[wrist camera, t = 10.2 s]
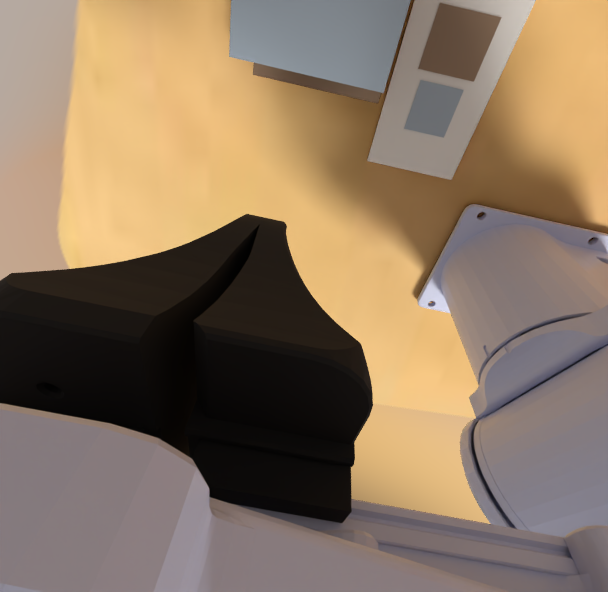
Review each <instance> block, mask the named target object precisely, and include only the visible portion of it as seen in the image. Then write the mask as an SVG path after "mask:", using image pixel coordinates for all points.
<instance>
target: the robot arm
mask: <svg viewBox="0 0 608 592" xmlns="http://www.w3.org/2000/svg"><path fill="white" fill-rule="evenodd" d="M481 212H484V215H483V216H482V217H477V215H478V214H479V213H481ZM286 228H287V226H286V224H285V223H284V222H282V221H277V220H273V219H268V218H263V217H259V216H254V215H249V214H246V215H244V216H242V217H240V218H238V219H236V220H234V221H233V222H231V223H229V224H227V225H225V226H223V227H222V228H220V229H218V230H216V231H214V232H212V233H210V234H207V235H205V236H203V237H201V238H199V239H196V240H194V241H192V242H190V243H187V244H185V245H182V246H179V247H176V248H173V249H170V250H167V251H164V252H161V253H157V254H153V255H149V256H145V257H140V258H136V259H132V260H127V261H123V262H117V263H111V264H105V265H99V266H91V267H84V268H75V269H67V270H52V271H39V272H26V273H11V274H9V275H8V276H7V277H5V278H4V279H2V280H1V281H0V592H608V234H606V233H602V232H597V231H593V230H588V229H584V228H580V227H575V226H571V225H566V224H562V223H557V222H553V221H548V220H544V219H540V218H535V217H531V216H526V215H522V214H517V213H513V212H508V211H504V210H500V209H495V208H491V207H486V206H482V205H477V204H471V205H469V206H467V207H466V208H465V209H464V211H463V213H462V215H461V217H460V219H459V221H458V222H457V224H456V226H455V228H454V230H453V232H452V234H451V236H450V238H449V240H448V242H447V243H446V245H445V247H444V249H443V251H442V253H441V255H440V257H439V259H438V261H437V262H436V264H435V266H434V268H433V270H432V272H431V274H430V276H429V278H428V280H427V282H426V283H425V285H424V287H423V289H422V291H421V293H420V295H419V297H418V299H417V301H418V305H419V306H421V307H424V308H428V309H433V310H438V311H442V312H447V313H451V316H452V318H453V321H454V323H455V326H456V328H457V331H458V334H459V336H460V339H461V341H462V344H463V346H464V349H465V351H466V354H467V357H468V359H469V362H470V364H471V367H472V369H473V372H474V374H475V377H476V380H477V382H478V385H479V387H478V389H477V390H476V391H475V393H473V394H472V395H471V396H470V397H469V399H470V402H471V405H472V407H473V410H474V413H475V416H476V419H474V420H472V421H470V422H469V423H468V424H467V425H466V426H465V427H464V429H463V431H462V433H461V439H460V453H461V458H462V464H463V467H464V471H465V475H466V478H467V481H468V484H469V486H470V488H471V491H472V493H473V495H474V497H475V499H476V501H477V503H478V505H479V507H480V508H481V510H482V511H483V513H484V515H485V516H486V518H487V519H488V520H489V522H490V523H491V524H487V523H481V522H476V521H470V520H465V519H459V518H454V517H448V516H442V515H437V514H432V513H426V512H420V511H415V510H409V509H404V508H398V507H393V506H387V505H381V504H376V503H371V502H365V501H360V500H354V499H351V467H352V466H353V465H354V460H355V454H354V441H355V440H356V438H357V436H358V435H359V433H360V431H361V429H362V428H363V426H364V424H365V422H366V421H367V419H368V417H369V415H370V412H371V409H372V406H373V402H372V386H371V380H370V376H369V371H368V367H367V363H366V360H365V356H364V353H363V349H362V346H361V344H360V343H359V342H358V341H357V340H356V339H355V338H353V337H352V336H351V335H350V334H349V333H347V332H346V331H345V330H344V329H343V328H341V327H340V326H339V325H338V324H337V323H336V322H335V321H334V320H333V319H332V318H331V317H330V316H329V315H328V314H327V313H326V312H325V311H324V310H323V309H322V308H321V307H320V305H319V304H318V303H317V302H316V300H315V299H314V298H313V297H312V295H311V294H310V292H309V291H308V289H307V288H306V286H305V284H304V283H303V281H302V279H301V277H300V275H299V273H298V271H297V269H296V266H295V264H294V262H293V259H292V256H291V253H290V250H289V246H288V242H287V237H286ZM593 237H594V239H593V240H591V241H589V240H590V239H591V238H593ZM588 241H589V242H588ZM430 301H434V302H433V303H429V302H430Z"/></svg>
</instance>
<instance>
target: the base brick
mask: <svg viewBox="0 0 608 592" xmlns="http://www.w3.org/2000/svg"><path fill="white" fill-rule="evenodd" d="M253 75H257V76H261V77H266V78H270V79H274V80H279V81H283V82H287V83H292V84H296V85H300V86H305V87H309V88H313V89H317V90H322V91H326V92H330V93H335V94H339V95H343V96H348V97H352V98H356V99H361V100H365V101H369V102H373V103H378V102H379V99H380V95H381V92H377V91H372V90H368V89H364V88H360V87H355V86H351V85H347V84H343V83H339V82H334V81H330V80H326V79H322V78H317V77H313V76H309V75H305V74H300V73H296V72H292V71H288V70H283V69H279V68H275V67H271V66H267V65H262V64H258V63H254V68H253Z"/></svg>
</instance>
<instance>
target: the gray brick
mask: <svg viewBox="0 0 608 592" xmlns="http://www.w3.org/2000/svg"><path fill="white" fill-rule="evenodd" d="M410 1H411V0H231V21H230V52H229V57H233V58H237V59H241V60H245V61H250V62H254V63H258V64H262V65H267V66H271V67H275V68H279V69H283V70H288V71H292V72H296V73H300V74H305V75H309V76H313V77H317V78H322V79H326V80H330V81H334V82H339V83H343V84H347V85H351V86H355V87H360V88H364V89H368V90H372V91H377V92H381V93H384V90H385V87H386V83H387V80H388V76H389V73H390V70H391V66H392V63H393V59H394V56H395V52H396V49H397V45H398V42H399V39H400V35H401V32H402V28H403V25H404V21H405V18H406V15H407V11H408V8H409V4H410Z"/></svg>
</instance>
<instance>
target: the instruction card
mask: <svg viewBox="0 0 608 592" xmlns="http://www.w3.org/2000/svg"><path fill="white" fill-rule="evenodd" d="M535 1H536V0H414V2H413V6H412V9H411V12H410V16H409V19H408V23H407V26H406V29H405V33H404V36H403V40H402V43H401V46H400V50H399V53H398V57H397V60H396V63H395V67H394V70H393V74H392V77H391V80H390V84H389V87H388V91H387V94H386V97H385V101H384V104H383V108H382V111H381V114H380V118H379V121H378V125H377V128H376V131H375V135H374V138H373V142H372V145H371V148H370V152H369V155H368V159H367V161H370V162H374V163H378V164H383V165H387V166H392V167H396V168H401V169H405V170H409V171H414V172H418V173H423V174H427V175H431V176H436V177H440V178H445V179H449V180H452V178H453V176H454V173H455V171H456V169H457V167H458V165H459V163H460V161H461V158H462V156H463V154H464V152H465V150H466V148H467V146H468V144H469V141H470V139H471V137H472V135H473V133H474V131H475V129H476V127H477V124H478V122H479V120H480V118H481V116H482V114H483V112H484V110H485V107H486V105H487V103H488V101H489V99H490V97H491V95H492V92H493V90H494V88H495V86H496V84H497V82H498V80H499V78H500V75H501V73H502V71H503V69H504V67H505V65H506V63H507V61H508V58H509V56H510V54H511V52H512V50H513V48H514V46H515V44H516V41H517V39H518V37H519V35H520V33H521V31H522V29H523V26H524V24H525V22H526V20H527V18H528V16H529V14H530V12H531V9H532V7H533V5H534V3H535Z"/></svg>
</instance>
